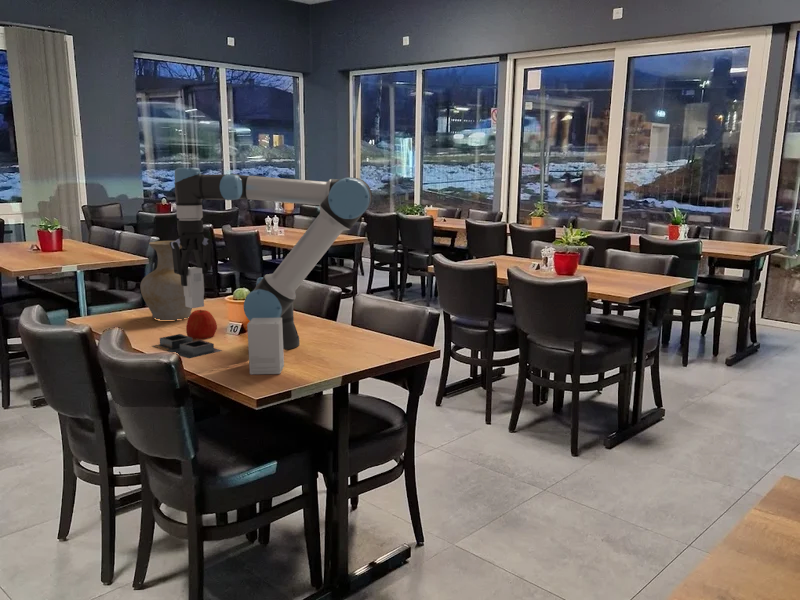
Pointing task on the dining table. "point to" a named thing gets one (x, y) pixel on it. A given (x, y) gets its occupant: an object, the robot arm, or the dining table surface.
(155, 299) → the vase
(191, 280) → the plug
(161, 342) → the grey double tray
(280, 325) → the supplement box
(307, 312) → the dining table surface
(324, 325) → the dining table surface
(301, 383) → the dining table surface
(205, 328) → the apple
